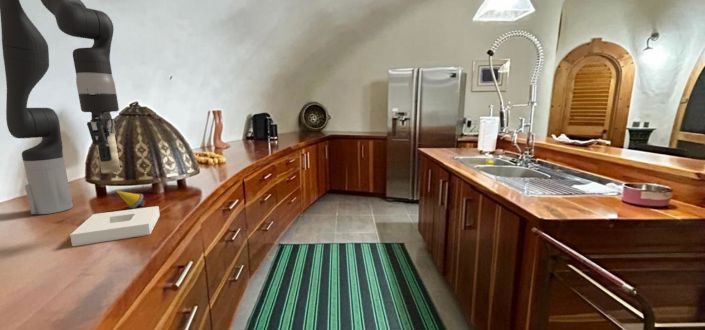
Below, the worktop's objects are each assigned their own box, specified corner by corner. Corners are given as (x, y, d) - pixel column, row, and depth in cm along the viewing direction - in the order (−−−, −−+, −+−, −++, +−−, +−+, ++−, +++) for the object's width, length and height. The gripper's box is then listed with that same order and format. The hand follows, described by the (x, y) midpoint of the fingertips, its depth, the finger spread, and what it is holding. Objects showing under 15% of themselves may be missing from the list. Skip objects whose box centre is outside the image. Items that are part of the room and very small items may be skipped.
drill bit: (148, 209, 103) (118, 194, 96) (136, 214, 104) (107, 200, 97) (152, 196, 106) (124, 181, 99) (142, 202, 108) (113, 187, 101)
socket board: (72, 246, 74) (70, 234, 74) (95, 224, 89) (93, 214, 88) (150, 234, 81) (148, 223, 80) (159, 215, 95) (158, 206, 94)
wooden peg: (99, 173, 79) (92, 134, 77) (104, 171, 83) (97, 133, 81) (118, 172, 80) (111, 133, 79) (122, 169, 84) (116, 132, 82)
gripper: (89, 94, 83) (100, 157, 86) (66, 91, 70) (80, 165, 73) (123, 94, 86) (132, 155, 89) (106, 91, 73) (118, 162, 76)
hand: (109, 159), depth 81 cm, fingers closed on wooden peg, 4 cm apart
